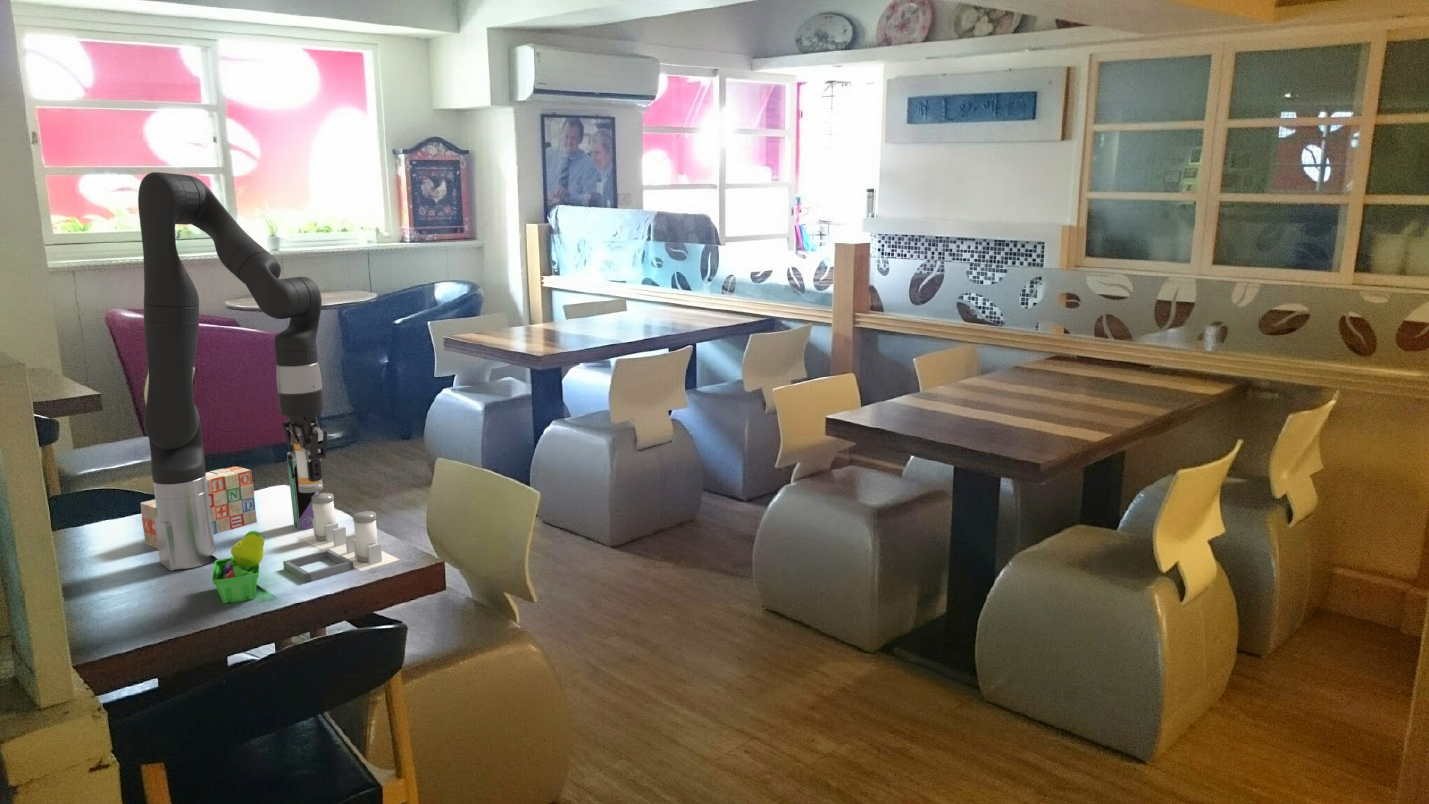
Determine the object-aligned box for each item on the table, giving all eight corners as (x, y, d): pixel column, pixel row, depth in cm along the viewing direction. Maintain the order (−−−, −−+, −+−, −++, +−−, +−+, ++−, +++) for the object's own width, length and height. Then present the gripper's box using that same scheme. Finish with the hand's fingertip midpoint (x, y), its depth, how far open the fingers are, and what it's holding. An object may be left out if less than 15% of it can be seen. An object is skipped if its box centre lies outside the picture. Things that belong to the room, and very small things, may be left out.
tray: (307, 590, 187) (306, 574, 187) (284, 576, 194) (283, 561, 194) (354, 576, 194) (352, 561, 193) (330, 563, 200) (328, 549, 200)
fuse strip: (361, 578, 192) (359, 553, 191) (297, 544, 212) (295, 521, 211) (400, 567, 198) (398, 542, 197) (334, 534, 217) (332, 511, 216)
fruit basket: (217, 585, 190) (210, 528, 188) (269, 578, 194) (263, 521, 191) (215, 608, 180) (207, 547, 178) (269, 599, 184) (262, 539, 181)
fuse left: (321, 542, 208) (317, 500, 206) (312, 538, 211) (307, 496, 209) (341, 537, 211) (337, 495, 209) (331, 533, 214) (327, 491, 212)
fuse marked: (326, 489, 190) (322, 442, 189) (304, 494, 187) (300, 446, 186) (316, 485, 193) (312, 438, 191) (294, 489, 190) (290, 443, 188)
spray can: (312, 536, 216) (303, 445, 212) (289, 535, 217) (279, 444, 213) (327, 528, 221) (318, 438, 217) (304, 526, 223) (295, 437, 218)
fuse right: (363, 564, 196) (359, 519, 194) (353, 559, 198) (348, 514, 197) (383, 558, 198) (379, 514, 197) (373, 553, 201) (369, 509, 199)
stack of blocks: (160, 551, 209) (152, 493, 207) (145, 545, 213) (137, 488, 210) (257, 522, 226) (251, 468, 224) (242, 517, 230) (236, 464, 227)
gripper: (337, 389, 184) (346, 481, 188) (303, 380, 194) (312, 467, 197) (296, 396, 179) (306, 490, 182) (263, 386, 189) (273, 475, 192)
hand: (309, 477), depth 190 cm, fingers closed on fuse marked, 4 cm apart
